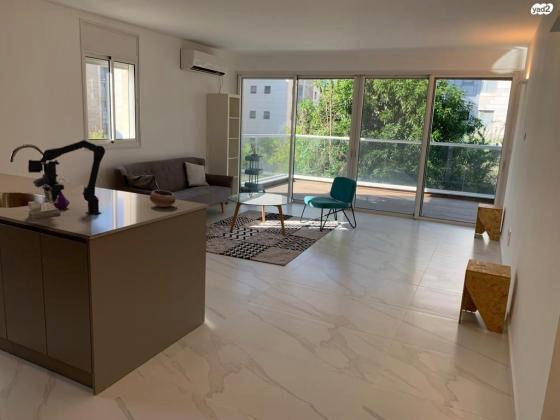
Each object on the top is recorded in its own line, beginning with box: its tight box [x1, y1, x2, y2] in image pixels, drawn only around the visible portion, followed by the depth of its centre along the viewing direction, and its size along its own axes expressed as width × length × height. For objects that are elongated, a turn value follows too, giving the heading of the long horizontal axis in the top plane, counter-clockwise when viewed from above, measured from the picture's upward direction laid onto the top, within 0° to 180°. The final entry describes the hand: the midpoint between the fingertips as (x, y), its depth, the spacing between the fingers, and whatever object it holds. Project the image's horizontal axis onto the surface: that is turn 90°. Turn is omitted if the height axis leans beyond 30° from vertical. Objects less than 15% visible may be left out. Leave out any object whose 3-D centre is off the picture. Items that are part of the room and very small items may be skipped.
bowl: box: [149, 189, 176, 208], centre depth 280 cm, size 16×16×10 cm
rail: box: [27, 201, 61, 220], centre depth 239 cm, size 6×14×8 cm, turn 140°
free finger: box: [44, 191, 58, 205], centre depth 241 cm, size 5×4×6 cm
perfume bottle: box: [52, 178, 71, 210], centre depth 258 cm, size 8×8×18 cm
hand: (51, 200), depth 242 cm, fingers closed on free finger, 5 cm apart
